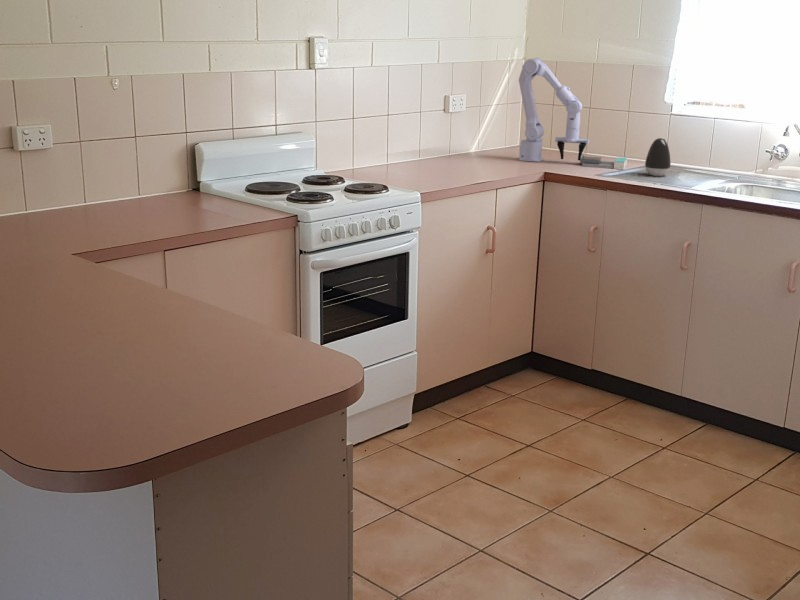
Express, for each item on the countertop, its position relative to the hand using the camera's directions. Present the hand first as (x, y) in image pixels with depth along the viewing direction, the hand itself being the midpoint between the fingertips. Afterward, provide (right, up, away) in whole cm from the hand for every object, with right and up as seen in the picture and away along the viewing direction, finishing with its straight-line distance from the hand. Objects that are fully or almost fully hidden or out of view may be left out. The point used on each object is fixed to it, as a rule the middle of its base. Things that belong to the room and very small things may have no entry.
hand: (570, 159), depth 409 cm
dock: (+14, -3, -4) cm, 15 cm away
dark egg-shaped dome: (+31, -10, -24) cm, 41 cm away
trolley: (+8, -3, -2) cm, 9 cm away
